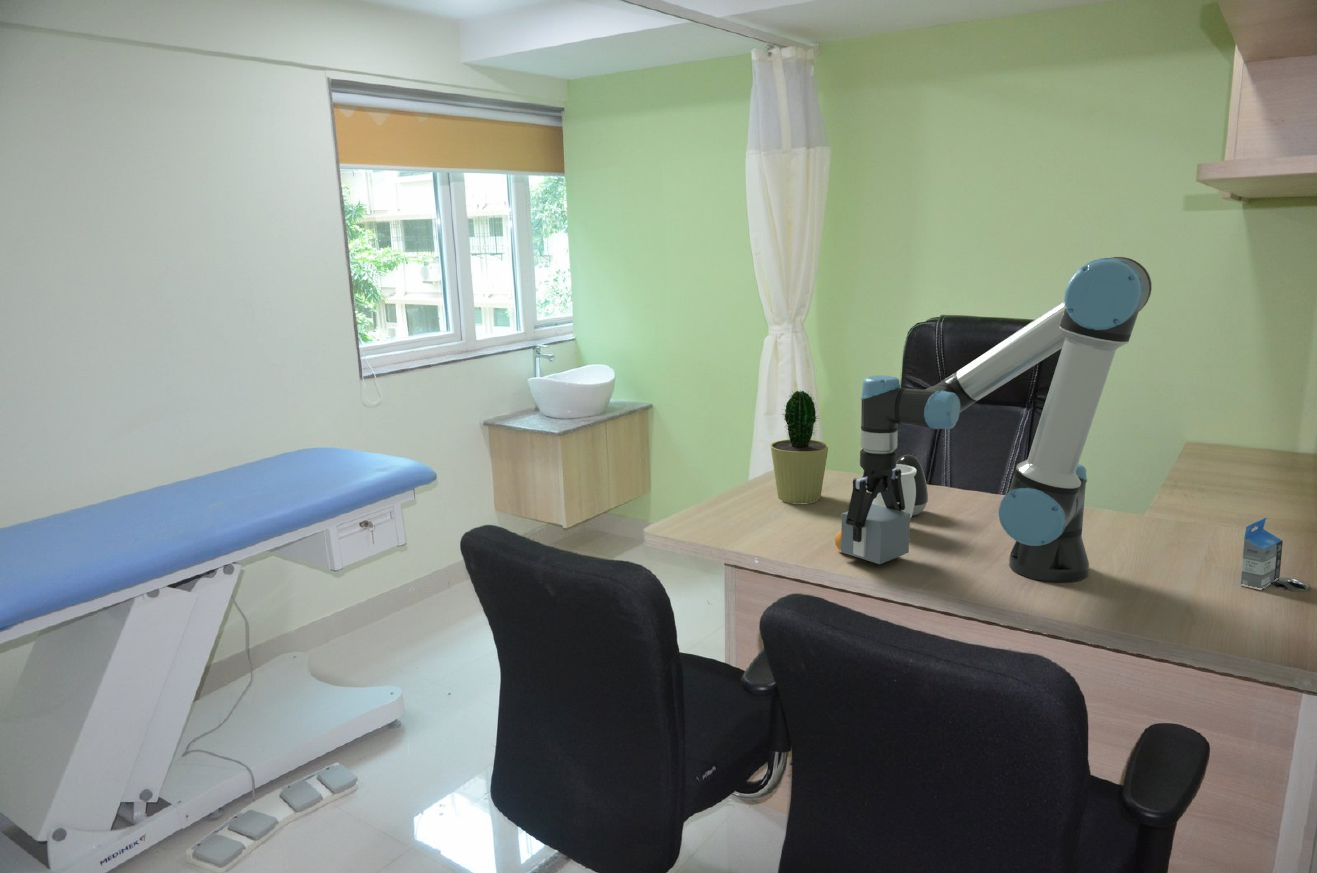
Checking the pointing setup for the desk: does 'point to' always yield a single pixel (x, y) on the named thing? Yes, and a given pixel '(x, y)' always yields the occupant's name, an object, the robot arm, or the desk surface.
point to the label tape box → (1260, 556)
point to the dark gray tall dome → (917, 482)
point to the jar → (907, 488)
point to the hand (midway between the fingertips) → (875, 549)
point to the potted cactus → (799, 453)
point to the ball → (838, 540)
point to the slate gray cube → (880, 534)
